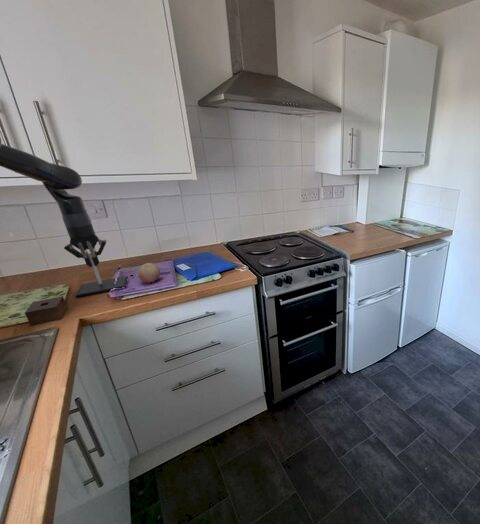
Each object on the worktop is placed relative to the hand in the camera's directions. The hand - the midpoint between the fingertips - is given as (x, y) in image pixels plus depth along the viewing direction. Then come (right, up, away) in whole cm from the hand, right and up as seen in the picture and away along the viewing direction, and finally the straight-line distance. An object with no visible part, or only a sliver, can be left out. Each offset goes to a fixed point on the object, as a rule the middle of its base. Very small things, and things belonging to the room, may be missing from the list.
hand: (94, 265), depth 120 cm
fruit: (+17, -7, +10) cm, 21 cm away
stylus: (0, -8, +4) cm, 9 cm away
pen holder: (-2, -18, -15) cm, 23 cm away
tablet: (+1, -9, +4) cm, 10 cm away
